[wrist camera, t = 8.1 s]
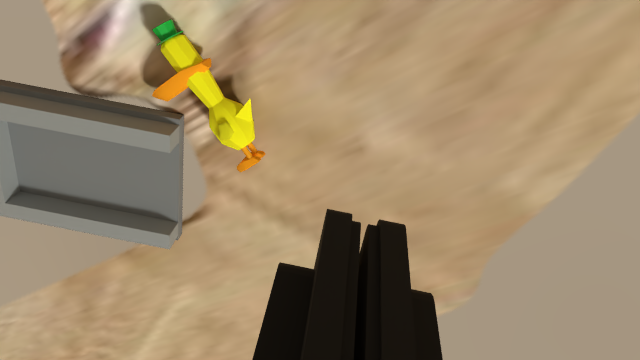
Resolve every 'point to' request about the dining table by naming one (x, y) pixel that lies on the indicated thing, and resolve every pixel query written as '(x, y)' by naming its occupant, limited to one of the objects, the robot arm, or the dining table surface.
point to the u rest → (91, 165)
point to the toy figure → (206, 94)
